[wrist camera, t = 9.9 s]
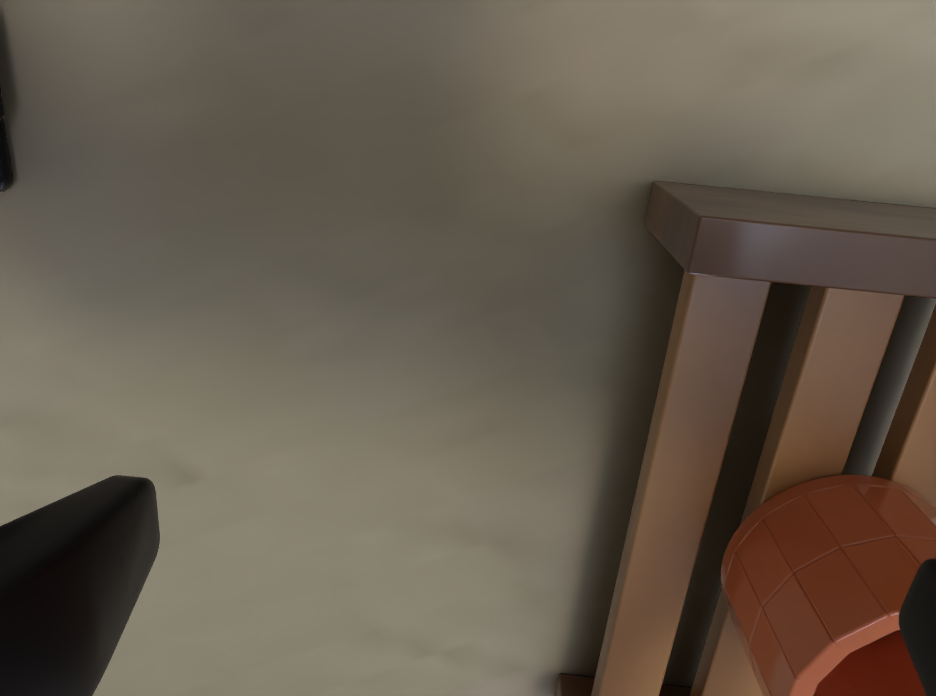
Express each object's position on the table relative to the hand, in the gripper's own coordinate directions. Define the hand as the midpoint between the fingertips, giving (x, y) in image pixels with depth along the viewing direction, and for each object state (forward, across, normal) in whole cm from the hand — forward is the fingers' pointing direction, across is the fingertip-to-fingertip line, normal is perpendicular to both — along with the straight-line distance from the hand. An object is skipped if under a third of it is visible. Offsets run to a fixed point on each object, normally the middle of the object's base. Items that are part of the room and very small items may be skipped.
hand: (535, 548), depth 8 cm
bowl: (+8, -9, +6) cm, 14 cm away
